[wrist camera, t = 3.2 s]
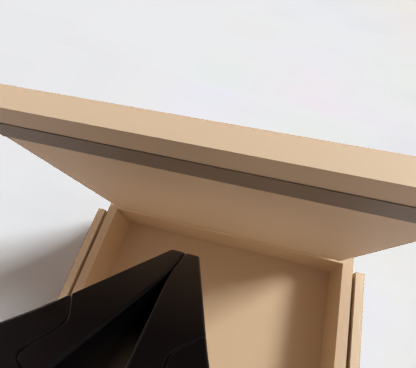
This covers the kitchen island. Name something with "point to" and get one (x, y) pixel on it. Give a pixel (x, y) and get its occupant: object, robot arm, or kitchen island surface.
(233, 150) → the flap
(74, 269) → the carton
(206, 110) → the kitchen island surface
